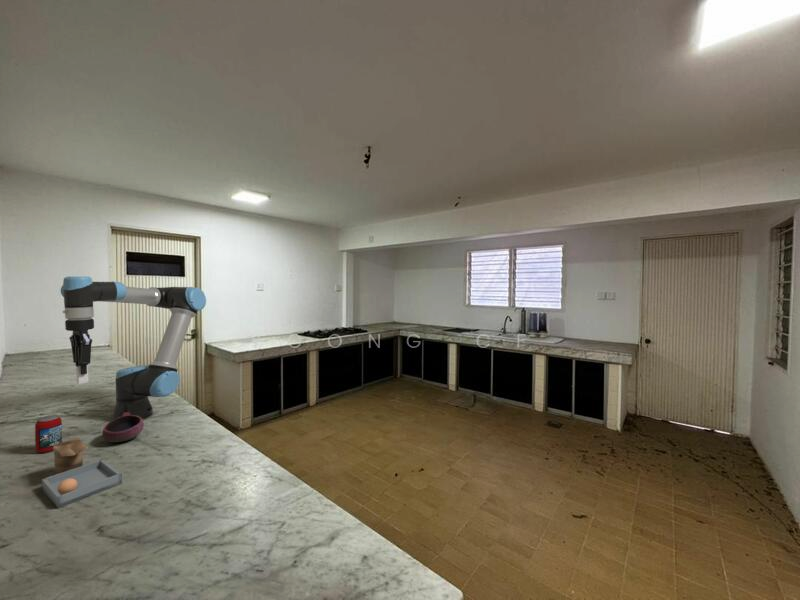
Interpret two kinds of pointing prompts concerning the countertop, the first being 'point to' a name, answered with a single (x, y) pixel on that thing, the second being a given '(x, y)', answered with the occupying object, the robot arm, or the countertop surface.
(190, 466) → the countertop surface
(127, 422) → the bowl
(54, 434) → the beverage can
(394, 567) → the countertop surface
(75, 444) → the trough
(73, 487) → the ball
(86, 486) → the tray
